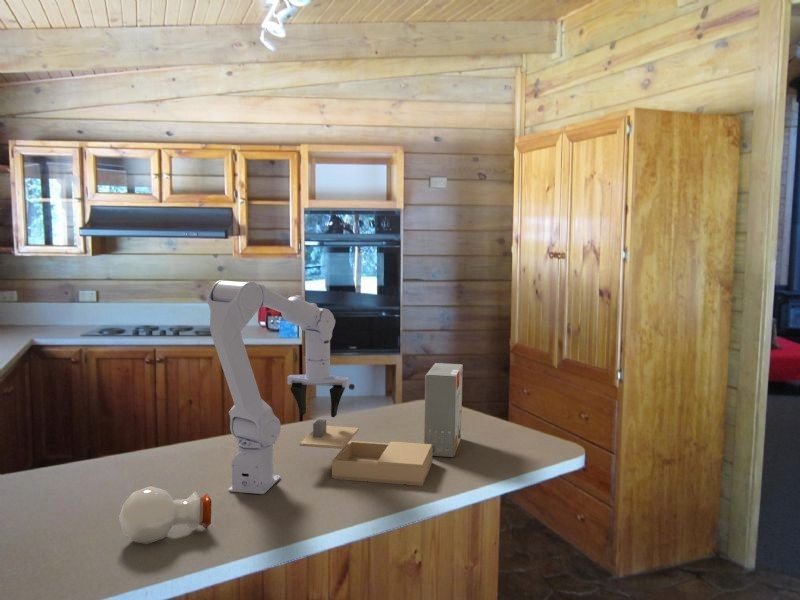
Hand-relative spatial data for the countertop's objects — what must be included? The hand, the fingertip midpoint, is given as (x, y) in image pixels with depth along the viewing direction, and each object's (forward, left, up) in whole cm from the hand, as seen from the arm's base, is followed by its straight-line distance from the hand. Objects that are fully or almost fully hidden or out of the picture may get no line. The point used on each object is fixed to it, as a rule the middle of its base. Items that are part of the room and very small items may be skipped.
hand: (318, 415), depth 156 cm
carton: (-5, -17, -10) cm, 21 cm away
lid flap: (-5, -5, -4) cm, 8 cm away
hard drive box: (+14, -28, -11) cm, 33 cm away
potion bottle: (-44, +14, -11) cm, 47 cm away
